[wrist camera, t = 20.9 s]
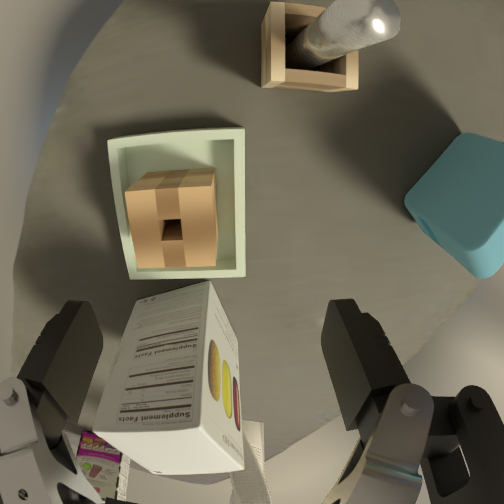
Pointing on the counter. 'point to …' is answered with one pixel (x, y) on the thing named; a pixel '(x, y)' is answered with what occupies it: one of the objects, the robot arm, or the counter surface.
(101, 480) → the candy bar box
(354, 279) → the counter surface
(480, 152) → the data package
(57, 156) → the counter surface
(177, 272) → the tray
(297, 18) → the beech block wide bore
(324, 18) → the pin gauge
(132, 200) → the oak block narrow bore
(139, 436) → the supplement box
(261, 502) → the skyscraper
